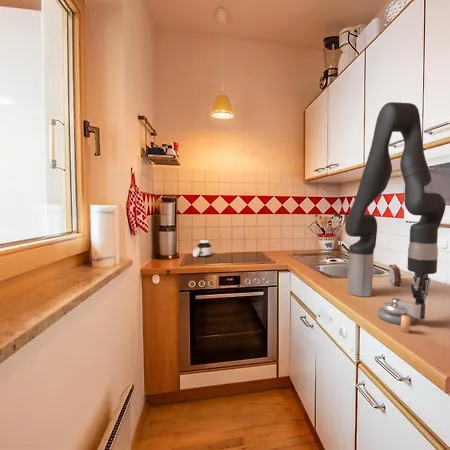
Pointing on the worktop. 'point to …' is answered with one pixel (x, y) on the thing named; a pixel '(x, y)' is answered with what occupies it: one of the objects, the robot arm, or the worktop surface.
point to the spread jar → (203, 249)
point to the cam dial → (405, 308)
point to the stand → (397, 320)
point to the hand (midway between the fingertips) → (419, 310)
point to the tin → (394, 275)
